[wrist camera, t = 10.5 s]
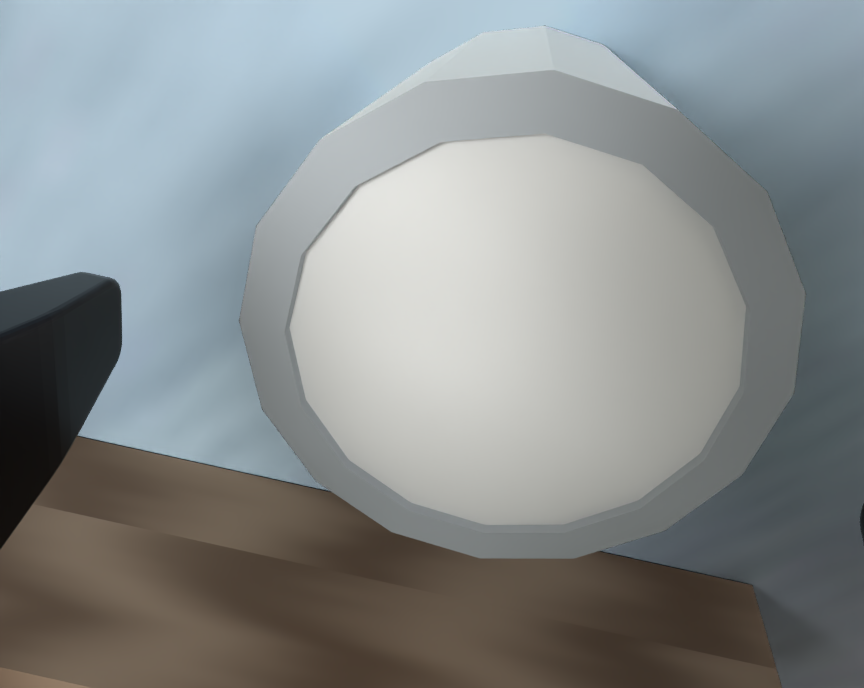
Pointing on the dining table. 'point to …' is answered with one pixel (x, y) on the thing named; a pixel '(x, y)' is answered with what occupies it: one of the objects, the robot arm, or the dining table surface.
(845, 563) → the dining table surface
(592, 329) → the shot glass
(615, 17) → the dining table surface
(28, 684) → the tray
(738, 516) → the dining table surface
